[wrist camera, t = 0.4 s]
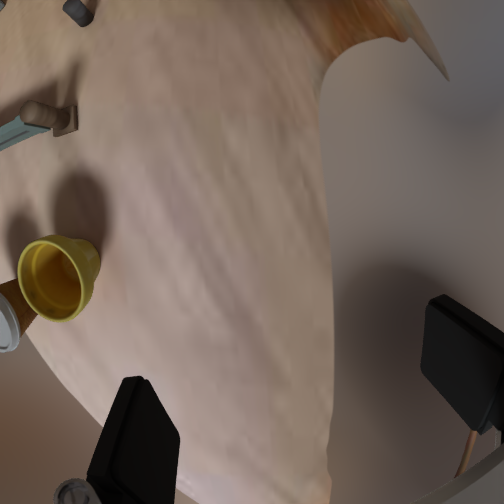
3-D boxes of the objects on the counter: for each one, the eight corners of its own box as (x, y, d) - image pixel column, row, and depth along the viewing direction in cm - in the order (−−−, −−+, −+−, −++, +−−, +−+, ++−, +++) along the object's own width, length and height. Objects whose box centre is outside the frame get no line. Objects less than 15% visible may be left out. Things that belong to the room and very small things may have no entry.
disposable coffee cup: (11, 303, 37) (-28, 334, 26) (15, 255, 35) (-31, 279, 24) (51, 328, 39) (15, 366, 28) (57, 280, 37) (14, 313, 26)
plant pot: (87, 209, 35) (50, 221, 26) (126, 272, 38) (100, 300, 29) (42, 248, 36) (5, 267, 26) (79, 304, 39) (49, 335, 29)
